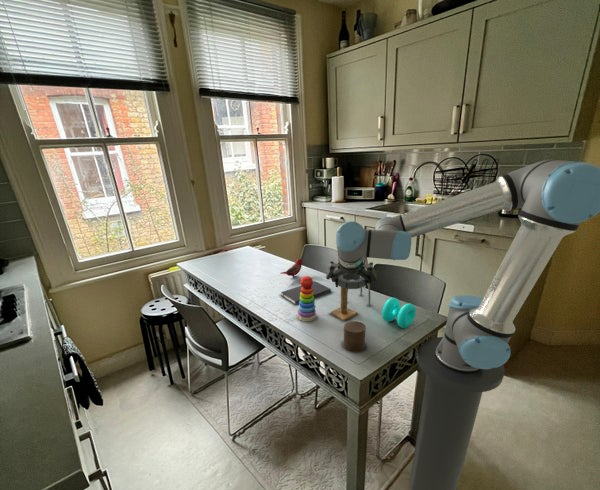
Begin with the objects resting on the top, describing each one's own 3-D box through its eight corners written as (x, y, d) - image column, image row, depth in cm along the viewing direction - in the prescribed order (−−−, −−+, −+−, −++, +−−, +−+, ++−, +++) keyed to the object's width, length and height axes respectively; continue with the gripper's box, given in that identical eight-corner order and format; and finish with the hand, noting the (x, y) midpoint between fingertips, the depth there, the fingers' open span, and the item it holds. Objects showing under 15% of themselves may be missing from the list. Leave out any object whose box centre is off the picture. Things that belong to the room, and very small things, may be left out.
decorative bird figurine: (305, 274, 177) (304, 257, 173) (282, 284, 166) (281, 266, 162) (301, 273, 179) (301, 256, 175) (278, 283, 168) (277, 265, 164)
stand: (369, 345, 114) (370, 326, 111) (355, 354, 110) (356, 335, 106) (353, 337, 119) (353, 318, 116) (339, 345, 115) (339, 326, 112)
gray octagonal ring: (370, 283, 112) (371, 276, 111) (352, 291, 106) (353, 284, 105) (349, 276, 118) (350, 269, 117) (332, 283, 113) (332, 277, 112)
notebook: (295, 304, 145) (330, 291, 156) (295, 301, 144) (330, 288, 155) (280, 295, 155) (315, 283, 165) (280, 292, 154) (314, 281, 165)
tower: (357, 314, 135) (358, 280, 128) (344, 321, 130) (345, 285, 123) (343, 308, 140) (343, 274, 134) (330, 314, 136) (330, 280, 129)
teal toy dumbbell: (393, 314, 133) (395, 293, 129) (415, 323, 126) (418, 301, 122) (379, 323, 127) (381, 301, 123) (401, 333, 120) (404, 310, 116)
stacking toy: (313, 323, 129) (312, 281, 122) (295, 320, 132) (292, 279, 124) (318, 314, 136) (318, 274, 128) (301, 311, 139) (299, 272, 131)
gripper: (312, 268, 96) (320, 292, 117) (389, 270, 92) (382, 295, 112) (314, 246, 98) (321, 273, 119) (389, 247, 94) (383, 276, 115)
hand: (351, 284), depth 116 cm, fingers closed on gray octagonal ring, 10 cm apart
